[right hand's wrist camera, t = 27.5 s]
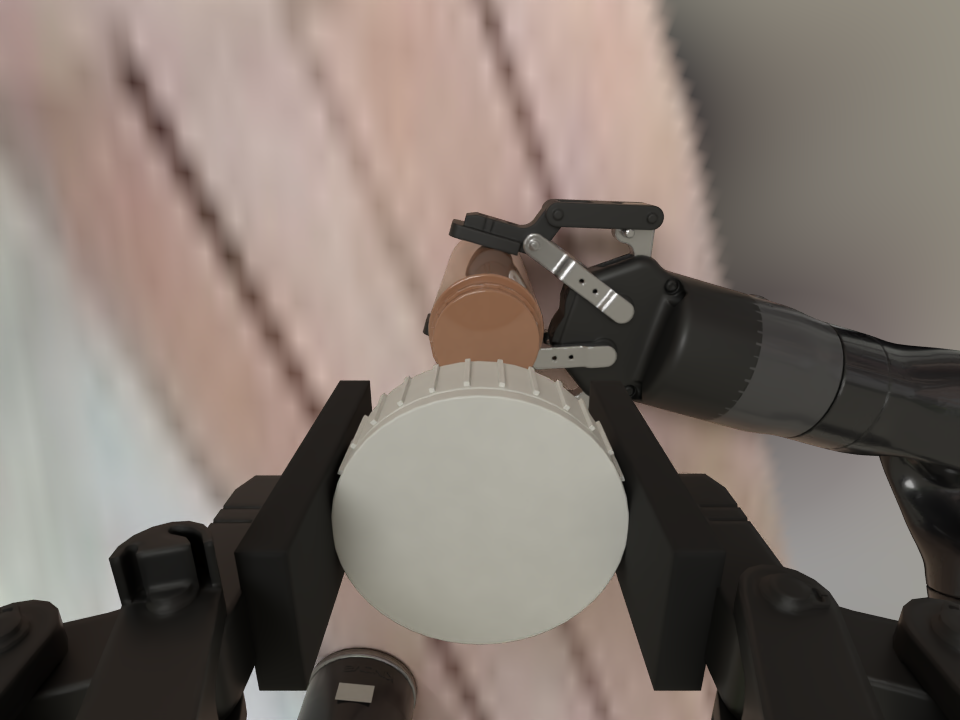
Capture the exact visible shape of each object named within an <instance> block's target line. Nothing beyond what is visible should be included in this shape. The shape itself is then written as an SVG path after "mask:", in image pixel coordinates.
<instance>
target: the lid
mask: <svg viewBox="0 0 960 720" xmlns="http://www.w3.org/2000/svg"><path fill="white" fill-rule="evenodd" d="M337 474H339V475H341V476H340V478H339V481H338V483H337V486H336V490H335V494H334V497H333V503H332V512H331V520H332V530H333V538H334V545H335V549H336V552H337V555H338V558H339V560H340V563H341V565H342V567H343V569H344V571H345V573H346V575H347V576H348V578H349V580H350V581H351V582H352V584H353V585H354V586H355V588H356V589H357V591H358V592H359V593H360V594H361V595H362V596H363V597H364V598H365V599H366V600H367V601H368V602H369V603H370V604H371V605H372V606H373V607H374V608H376V609H377V610H378V611H379V612H381V613H382V614H383V615H385V616H386V617H388V618H389V619H391V620H393V621H394V622H396V623H397V624H399V625H401V626H403V627H405V628H407V629H409V630H412V631H414V632H417V633H419V634H422V635H425V636H428V637H431V638H435V639H439V640H443V641H448V642H455V643H461V644H480V645H483V644H500V643H506V642H512V641H518V640H521V639H525V638H529V637H533V636H536V635H538V634H541V633H544V632H546V631H549V630H551V629H553V628H555V627H557V626H559V625H561V624H563V623H565V622H566V621H568V620H569V619H571V618H572V617H574V616H575V615H577V614H578V613H580V612H581V611H582V610H583V609H585V608H586V607H587V606H588V605H589V604H590V603H592V602H593V601H594V600H595V598H596V597H597V596H598V595H599V594H600V593H601V592H602V591H603V590H604V588H605V587H606V585H607V584H608V583H609V581H610V580H611V578H612V577H613V575H614V573H615V571H616V569H617V567H618V565H619V563H620V561H621V558H622V555H623V552H624V549H625V547H626V541H627V533H628V523H629V510H628V503H627V496H626V493H625V490H624V486H623V483H622V481H625V479H624V476H623V474H622V471H621V469H620V467H619V465H618V462H617V460H616V458H615V456H614V452H613V450H612V447H611V445H610V443H609V441H608V439H607V436H606V434H605V432H604V430H603V427H602V425H601V423H600V421H597V422H595V421H594V419H593V418H592V416H591V415H590V413H589V411H588V409H587V406H586V404H585V402H584V400H583V399H582V398H581V399H580V400H578V399H577V398H576V397H574V396H573V395H572V394H571V393H570V392H568V391H567V390H566V389H565V388H564V387H563V385H562V382H561V381H559V380H557V381H556V382H554V381H553V380H551V379H549V378H547V377H545V376H543V375H541V374H539V373H536V372H535V370H534V368H533V367H530V366H529V368H528V369H525V368H522V367H519V366H516V365H511V364H505V363H503V360H500V359H498V360H497V362H486V361H473V362H471V359H465V362H460V363H455V364H450V365H445V366H441V367H439V364H437V365H434V366H433V369H432V370H429V371H426V372H423V373H421V374H419V375H417V376H415V377H413V378H410V376H408V377H406V378H405V379H404V382H403V384H401V385H400V386H398V387H397V388H395V389H394V390H393V391H392V392H390V393H389V394H388V395H386V394H385V393H384V394H383V395H382V396H381V397H380V400H379V402H378V404H377V406H376V407H375V408H374V410H373V411H372V412H371V413H370V415H369V416H366V415H364V417H363V418H362V421H361V423H360V425H359V427H358V430H357V432H356V434H355V436H354V439H352V441H351V443H350V445H349V448H348V450H347V452H346V454H345V457H344V459H343V461H342V463H341V465H340V468H339V470H338V473H337Z"/></svg>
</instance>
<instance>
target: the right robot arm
mask: <svg viewBox="0 0 960 720" xmlns="http://www.w3.org/2000/svg"><path fill="white" fill-rule="evenodd" d="M588 411H589V413H590V415H591V416H592V418H593V419H594V421H595V422H597V421H600V423H601V425H602V427H603V430H604V432H605V434H606V436H607V439H608V441H609V443H610V445H611V447H612V450H613V452H614V456H615V458H616V460H617V462H618V465H619V467H620V469H621V471H622V474H623V476H624V479H625V481H622V483H623V486H624V490H625V493H626V496H627V503H628V510H629V523H628V533H627V541H626V547H625V549H624V552H623V555H622V558H621V561H620V563H619V565H618V567H617V569H616V574H617V578H618V581H619V584H620V587H621V590H622V593H623V596H624V599H625V602H626V605H627V608H628V612H629V615H630V618H631V621H632V624H633V627H634V630H635V633H636V636H637V639H638V642H639V645H640V649H641V652H642V655H643V658H644V661H645V664H646V667H647V670H648V673H649V676H650V679H651V682H652V686H653V689H654V691H701V687H702V682H703V677H704V671H705V666H706V665H707V667H708V669H709V671H710V674H711V676H712V678H713V680H714V683H715V685H716V687H717V693H716V698H715V703H714V708H713V713H712V718H711V720H960V605H959V604H957V603H954V602H951V601H948V600H941V599H935V598H928V597H927V598H919V599H912V600H911V601H909V602H908V603H907V604H906V605H904V606H903V609H902V612H901V615H900V618H899V621H896V620H891V619H887V618H883V617H878V616H874V615H870V614H865V613H861V612H856V611H852V610H849V609H846V608H842V607H839V606H838V604H837V602H836V601H835V599H834V598H833V596H832V595H831V593H830V592H829V591H828V590H827V589H825V588H824V587H823V586H822V585H820V584H819V583H818V582H817V581H815V580H814V579H812V578H810V577H808V576H806V575H804V574H802V573H800V572H798V571H796V570H793V569H789V568H786V567H783V566H782V564H781V563H780V562H779V560H778V559H777V558H776V556H775V555H774V553H773V552H772V551H771V549H770V548H769V547H768V545H767V544H766V543H765V541H764V540H763V538H762V537H761V536H760V534H759V533H758V532H757V530H756V529H755V528H754V526H753V525H752V523H751V522H750V521H747V517H746V515H745V514H744V513H743V511H742V510H741V509H740V507H737V503H736V502H735V500H734V499H733V498H732V496H731V495H730V494H729V492H728V491H727V489H726V488H725V487H723V486H722V485H720V484H719V483H718V482H716V481H715V480H713V479H712V478H710V477H709V476H707V475H706V474H678V473H677V472H676V470H675V468H674V467H673V465H672V463H671V462H670V460H669V459H668V457H667V455H666V454H665V452H664V451H663V449H662V447H661V446H660V444H659V442H658V441H657V439H656V438H655V436H654V434H653V433H652V431H651V430H650V428H649V426H648V425H647V423H646V421H645V420H644V418H643V417H642V415H641V413H640V412H639V410H638V409H637V407H636V405H635V404H634V402H633V400H632V399H631V397H630V396H629V394H628V392H627V391H626V389H625V387H624V386H623V384H622V383H621V381H590V395H589V408H588ZM371 412H372V404H371V390H370V381H340V382H339V383H338V385H337V386H336V388H335V390H334V391H333V393H332V395H331V396H330V398H329V399H328V401H327V403H326V404H325V406H324V407H323V409H322V411H321V412H320V414H319V416H318V417H317V419H316V420H315V422H314V424H313V425H312V427H311V428H310V430H309V432H308V433H307V435H306V437H305V438H304V440H303V441H302V443H301V445H300V446H299V448H298V450H297V451H296V453H295V454H294V456H293V458H292V459H291V461H290V462H289V464H288V466H287V467H286V469H285V471H284V472H283V474H282V475H281V476H254V477H253V478H251V479H250V480H249V481H247V482H246V483H244V484H243V485H241V486H240V487H238V488H237V489H236V490H235V491H234V492H233V494H232V495H231V496H230V498H229V499H228V500H227V502H226V503H225V505H224V506H223V509H221V510H220V511H219V513H218V514H217V516H216V517H215V518H214V521H213V523H211V524H210V525H209V526H208V528H207V527H206V526H205V525H204V524H200V523H196V522H191V521H181V522H170V523H166V524H162V525H158V526H154V527H151V528H149V529H147V530H144V531H142V532H140V533H138V534H136V535H134V536H132V537H131V538H129V539H128V540H127V541H125V542H124V543H122V544H121V545H120V546H118V547H117V549H116V550H115V551H114V553H113V554H112V555H111V556H110V558H109V561H110V565H111V568H112V572H113V575H114V579H115V583H116V586H117V590H118V593H119V597H120V600H121V604H122V607H121V609H119V610H116V611H113V612H109V613H105V614H101V615H96V616H92V617H88V618H83V619H79V620H75V621H70V622H66V623H63V622H62V619H61V616H60V613H59V610H58V608H56V607H55V606H54V605H53V604H52V603H50V602H48V601H40V600H29V601H22V602H16V603H11V604H9V605H6V606H3V607H0V720H246V718H247V710H246V703H245V698H244V693H243V691H244V689H245V686H246V684H247V682H248V680H249V677H250V675H251V673H252V670H253V668H254V666H255V669H256V675H257V680H258V686H259V691H306V690H307V687H308V684H309V680H310V677H311V674H312V671H313V668H314V665H315V662H316V659H317V656H318V653H319V650H320V647H321V643H322V640H323V637H324V634H325V631H326V628H327V625H328V622H329V619H330V616H331V613H332V609H333V606H334V603H335V600H336V597H337V594H338V591H339V588H340V585H341V582H342V579H343V576H344V572H345V571H344V569H343V567H342V565H341V563H340V560H339V558H338V555H337V552H336V549H335V545H334V538H333V530H332V520H331V512H332V503H333V497H334V494H335V490H336V486H337V483H338V481H339V478H340V476H341V475H339V474H337V473H338V470H339V468H340V465H341V463H342V461H343V459H344V457H345V454H346V452H347V450H348V448H349V445H350V443H351V441H352V439H354V436H355V434H356V432H357V430H358V427H359V425H360V423H361V421H362V418H363V417H364V415H366V416H369V415H370V413H371Z"/></svg>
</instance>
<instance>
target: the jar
mask: <svg viewBox="0 0 960 720" xmlns="http://www.w3.org/2000/svg"><path fill="white" fill-rule="evenodd" d="M428 333H429V340H430V344H431V348H432V353H433V357H434V359H435V361H436V363H437V364H439V367H441V366H445V365H450V364H455V363H460V362H465V359H471V362H473V361H486V362H497V360H498V359H500V360H503V363H505V364H511V365H516V366H519V367H522V368H525V369H528V368H529V366H530V367H533V365H534V363H535V361H536V358H537V356H538V352H539V350H540V348H541V345H542V341H543V336H544V322H543V317H542V313H541V310H540V307H539V305H538V302H537V299H536V297H535V294H534V291H533V289H532V286H531V283H530V280H529V278H528V275H527V272H526V270H525V267H524V264H523V262H522V259H521V256H520V254H519V252H518V255H517V256H516V255H512V254H509V253H505V252H502V251H499V250H495V249H492V248H488V247H485V246H481V245H478V244H475V243H471V242H468V241H464V240H461V241H460V242H459V243H458V244H457V246H456V247H455V248H454V250H453V252H452V254H451V256H450V259H449V262H448V265H447V268H446V271H445V274H444V276H443V279H442V282H441V285H440V288H439V291H438V294H437V297H436V299H435V302H434V305H433V308H432V311H431V315H430V318H429V325H428Z"/></svg>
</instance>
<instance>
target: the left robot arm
mask: <svg viewBox="0 0 960 720" xmlns="http://www.w3.org/2000/svg"><path fill="white" fill-rule="evenodd" d="M663 220H664V214H663V211H662V210H661V209H660V208H659V207H657V206H653V205H650V204H646V203H642V202H619V201H592V200H566V199H550V200H547V201H546V202H545V203H544V204H543V206H542V209H541V210H540V212H539V213H538V214H537V216H536V217H535V218H534V220H533V221H532V222H530V223H528V224H526V225H518V224H515V223H512V222H508V221H505V220H501V219H498V218H494V217H491V216H488V215H485V214H481V213H478V212H473V213H467V214H466V217H465V221H461V220H456V219H453V221H452V225H451V228H450V232H449V235H450V236H452V237H454V238H457V239H461V240H464V241H468V242H471V243H475V244H478V245H481V246H485V247H488V248H492V249H495V250H499V251H502V252H505V253H509V254H512V255H516V256H517V255H518V252H522V253H525V254H527V255H529V256H530V257H531V258H533V259H534V260H535V261H537V262H538V263H539V264H541V265H542V266H543V267H545V268H546V269H547V270H549V271H550V272H551V273H553V274H554V275H555V276H556V277H557V278H558V279H560V280H561V281H562V282H563V283H564V285H563V288H562V291H561V294H560V307H559V309H558V310H557V312H556V313H555V315H554V316H553V318H552V320H551V323H550V326H549V329H547V330H544V336H543V341H542V345H541V348H540V350H539V352H538V356H537V358H536V361H535V363H534V365H533V368H534V369H555V368H565V369H566V370H567V371H568V373H569V374H570V375H571V377H572V378H573V379H574V380H575V382H576V383H577V384H578V385H579V387H578V388H577V389H575V390H567V391H568V392H570V393H571V394H572V395H573V396H574V397H576V398H577V399H578V400H580V399H581V398H582V399H583V400H584V402H585V404H586V406H587V409H588V408H589V395H590V381H621V383H622V384H623V386H624V387H625V389H626V391H627V392H628V394H629V396H630V397H631V399H632V400H633V401H635V402H639V403H643V404H646V405H650V406H654V407H657V408H661V409H665V410H668V411H672V412H676V413H679V414H683V415H687V416H690V417H694V418H698V419H701V420H705V421H709V422H712V423H716V424H720V425H724V426H727V427H731V428H735V429H738V430H743V431H747V432H754V433H761V434H770V435H776V436H780V437H784V438H788V439H792V440H796V441H799V442H803V443H806V444H810V445H814V446H817V447H821V448H825V449H829V450H833V451H838V452H843V453H849V454H857V455H870V456H879V457H880V461H881V463H882V466H883V469H884V472H885V474H886V477H887V479H888V481H889V484H890V486H891V488H892V491H893V493H894V495H895V498H896V500H897V503H898V505H899V507H900V510H901V512H902V515H903V517H904V520H905V522H906V524H907V526H908V529H909V531H910V533H911V535H912V537H913V539H914V541H915V543H916V545H917V547H918V549H919V552H920V554H921V556H922V559H923V562H924V567H925V577H926V584H927V594H928V598H935V599H941V600H948V601H951V602H954V603H957V604H959V605H960V351H958V350H950V349H942V348H931V347H920V346H909V345H901V344H895V343H891V342H887V341H884V340H881V339H878V338H876V337H873V336H870V335H867V334H864V333H860V332H857V331H854V330H850V329H847V328H843V327H840V326H837V325H833V324H830V323H826V322H823V321H820V320H817V319H815V318H812V317H810V316H808V315H806V314H804V313H802V312H800V311H797V310H795V309H793V308H790V307H787V306H784V305H781V304H778V303H774V302H771V301H769V300H767V299H765V298H764V297H761V296H758V295H752V294H750V295H747V294H744V293H741V292H738V291H734V290H731V289H727V288H724V287H721V286H717V285H714V284H710V283H707V282H704V281H700V280H697V279H694V278H690V277H687V276H683V275H680V274H677V273H673V272H670V271H667V270H665V269H663V268H662V267H661V266H660V265H659V264H658V263H657V262H656V261H655V260H654V259H653V258H651V253H652V246H653V238H654V231H655V229H657V228H658V227H660V226H661V224H662V223H663ZM561 227H577V228H603V229H611V232H612V235H613V237H614V238H615V239H616V240H618V241H620V242H622V243H626V244H627V245H628V246H629V249H630V253H629V254H626V255H623V256H621V257H618V258H615V259H612V260H609V261H606V262H603V263H601V264H598V265H595V266H592V267H589V268H588V267H586V266H585V265H584V264H582V263H581V262H580V261H579V260H577V259H576V258H575V257H573V256H572V255H571V254H569V253H568V252H567V251H565V250H564V249H562V248H561V247H559V246H558V245H557V244H555V243H554V242H553V241H551V240H552V238H553V237H554V236H555V234H556V233H557V232H558V230H559V229H560V228H561ZM430 315H431V313H430V314H428V316H427V319H426V322H425V326H424V330H423V333H424V334H426V335H428V336H429V333H428V325H429V318H430ZM547 340H549V341H547ZM553 356H555V357H553ZM416 694H417V689H416V684H415V681H414V678H413V676H412V674H411V673H410V672H409V670H408V669H407V668H406V667H405V666H404V665H403V664H402V663H401V662H399V661H398V660H396V659H395V658H393V657H391V656H389V655H387V654H385V653H382V652H379V651H375V650H370V649H348V650H343V651H339V652H336V653H333V654H331V655H329V656H327V657H326V658H324V659H323V660H322V661H320V662H319V663H318V664H317V666H316V667H315V668H314V670H313V671H312V674H311V677H310V680H309V684H308V687H307V692H306V695H305V698H304V701H303V704H302V707H301V710H300V713H299V716H298V718H297V720H412V716H413V710H414V707H415V702H416Z"/></svg>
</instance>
